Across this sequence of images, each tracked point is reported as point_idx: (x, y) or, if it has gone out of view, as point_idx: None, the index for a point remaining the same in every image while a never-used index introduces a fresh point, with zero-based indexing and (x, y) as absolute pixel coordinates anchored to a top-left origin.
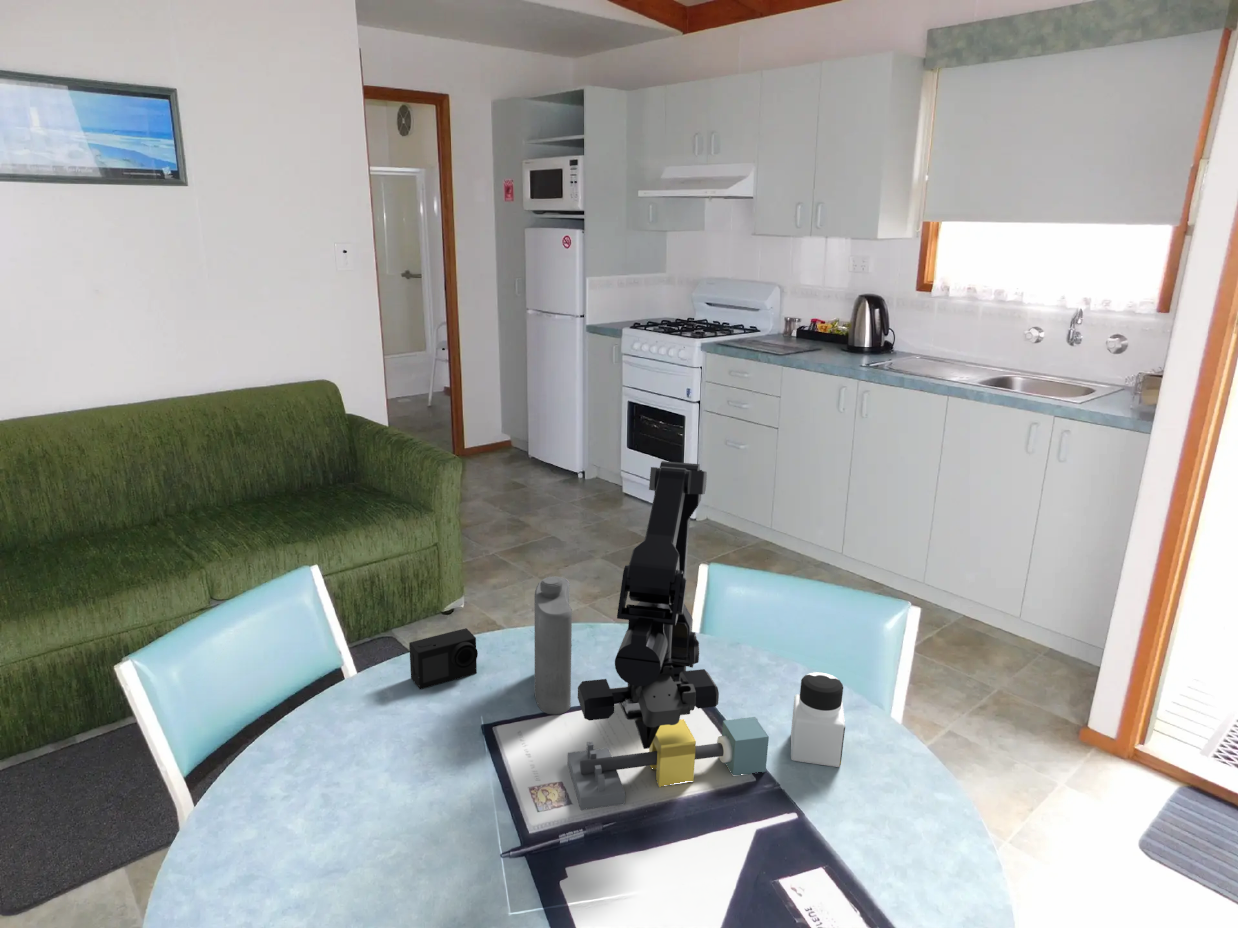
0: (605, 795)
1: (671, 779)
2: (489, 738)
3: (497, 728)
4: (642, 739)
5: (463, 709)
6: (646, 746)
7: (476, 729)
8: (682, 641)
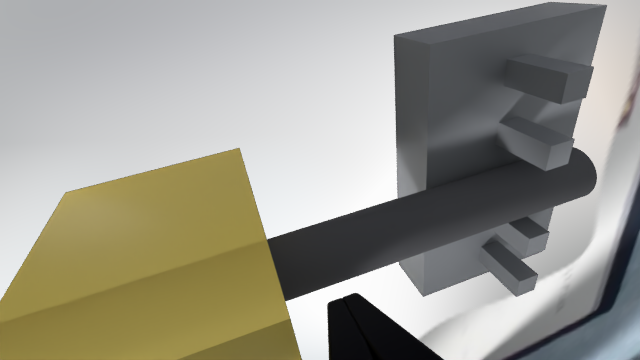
0: (510, 26)
1: (181, 176)
2: (617, 277)
3: (591, 307)
4: (411, 339)
5: (617, 336)
6: (352, 305)
7: (624, 295)
8: None
